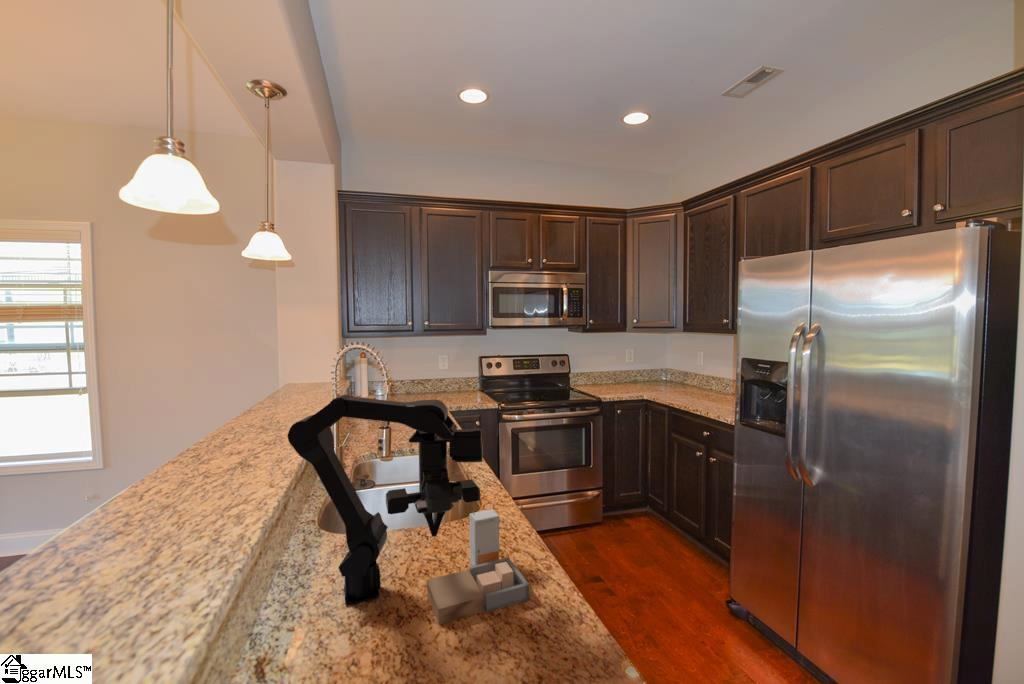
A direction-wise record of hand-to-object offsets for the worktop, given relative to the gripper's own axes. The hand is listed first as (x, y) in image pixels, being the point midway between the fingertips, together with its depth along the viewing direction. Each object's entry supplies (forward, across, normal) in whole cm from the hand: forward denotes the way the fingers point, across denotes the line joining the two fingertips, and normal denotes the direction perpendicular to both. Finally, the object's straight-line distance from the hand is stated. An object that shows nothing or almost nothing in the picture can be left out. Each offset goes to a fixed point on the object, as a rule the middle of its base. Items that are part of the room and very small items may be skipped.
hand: (433, 535), depth 90 cm
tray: (+12, +12, -5) cm, 18 cm away
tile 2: (+9, +13, -5) cm, 16 cm away
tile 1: (+11, +10, -5) cm, 16 cm away
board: (+12, +3, -5) cm, 13 cm away
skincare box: (+12, +13, +5) cm, 18 cm away
